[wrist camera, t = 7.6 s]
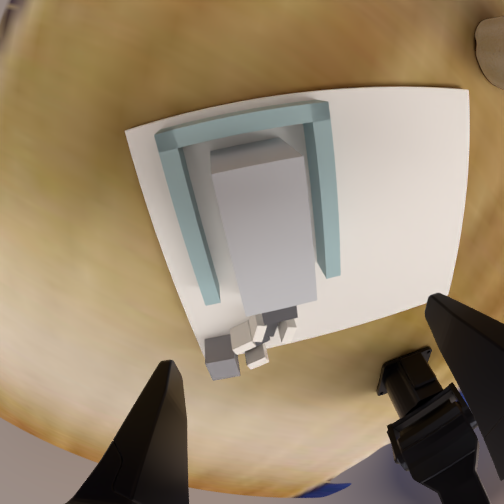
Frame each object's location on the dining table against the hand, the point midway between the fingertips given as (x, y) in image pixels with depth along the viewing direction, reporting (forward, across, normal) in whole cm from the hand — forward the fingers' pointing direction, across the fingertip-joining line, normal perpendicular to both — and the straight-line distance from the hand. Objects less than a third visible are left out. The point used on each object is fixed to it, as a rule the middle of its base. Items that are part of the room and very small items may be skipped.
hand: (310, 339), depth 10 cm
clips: (+11, +1, +10) cm, 15 cm away
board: (+12, -5, +3) cm, 13 cm away
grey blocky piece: (+11, +3, +10) cm, 15 cm away
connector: (+11, 0, +1) cm, 11 cm away
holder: (+11, 0, 0) cm, 11 cm away
